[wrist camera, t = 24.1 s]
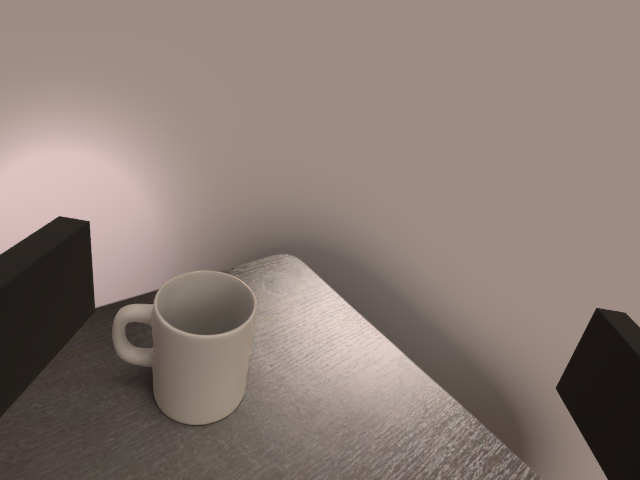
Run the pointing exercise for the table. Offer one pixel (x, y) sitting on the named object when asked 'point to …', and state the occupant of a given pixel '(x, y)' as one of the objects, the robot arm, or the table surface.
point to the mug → (194, 344)
